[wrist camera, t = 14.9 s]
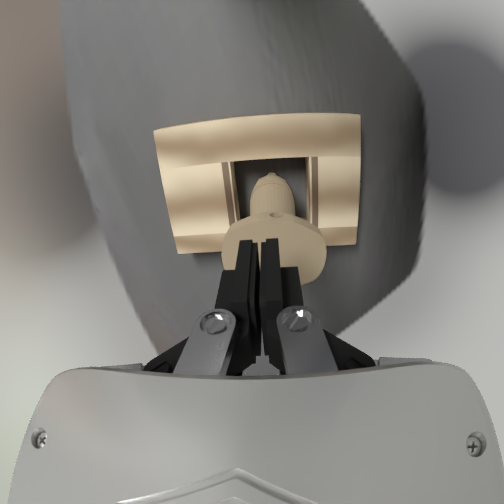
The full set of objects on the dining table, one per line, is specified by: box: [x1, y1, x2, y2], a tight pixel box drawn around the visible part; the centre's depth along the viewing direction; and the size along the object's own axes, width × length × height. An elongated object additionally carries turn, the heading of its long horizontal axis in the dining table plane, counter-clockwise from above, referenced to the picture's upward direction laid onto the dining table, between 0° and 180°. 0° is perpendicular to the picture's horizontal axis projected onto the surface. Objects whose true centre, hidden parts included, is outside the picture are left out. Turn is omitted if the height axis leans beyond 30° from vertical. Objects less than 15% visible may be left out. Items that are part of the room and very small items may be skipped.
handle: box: [221, 172, 327, 285], centre depth 24 cm, size 5×6×15 cm
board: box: [154, 113, 361, 254], centre depth 28 cm, size 14×20×3 cm
